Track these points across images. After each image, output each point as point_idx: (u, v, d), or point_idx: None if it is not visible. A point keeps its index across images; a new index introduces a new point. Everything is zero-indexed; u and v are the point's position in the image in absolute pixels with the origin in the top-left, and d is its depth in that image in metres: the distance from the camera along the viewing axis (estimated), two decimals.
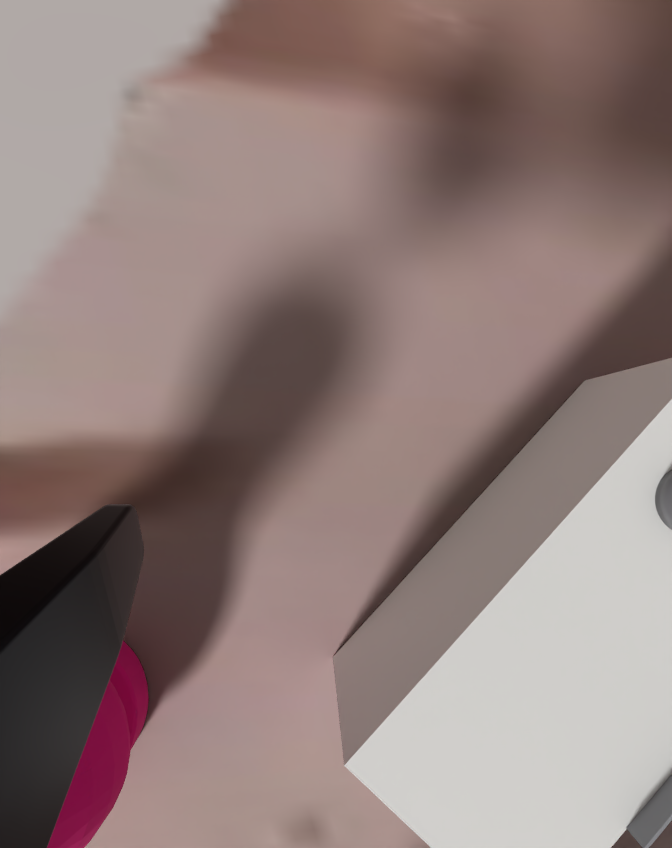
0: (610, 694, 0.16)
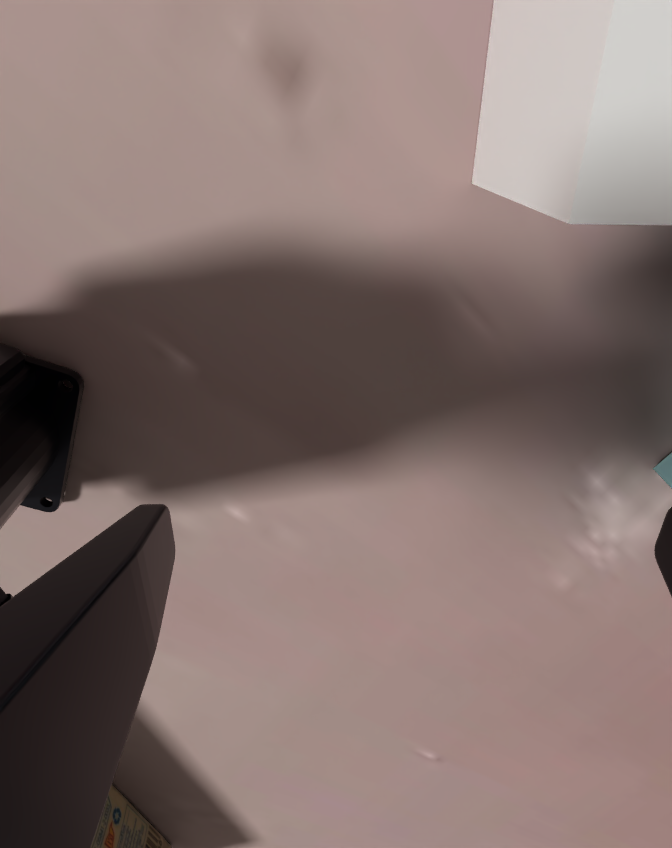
0: None
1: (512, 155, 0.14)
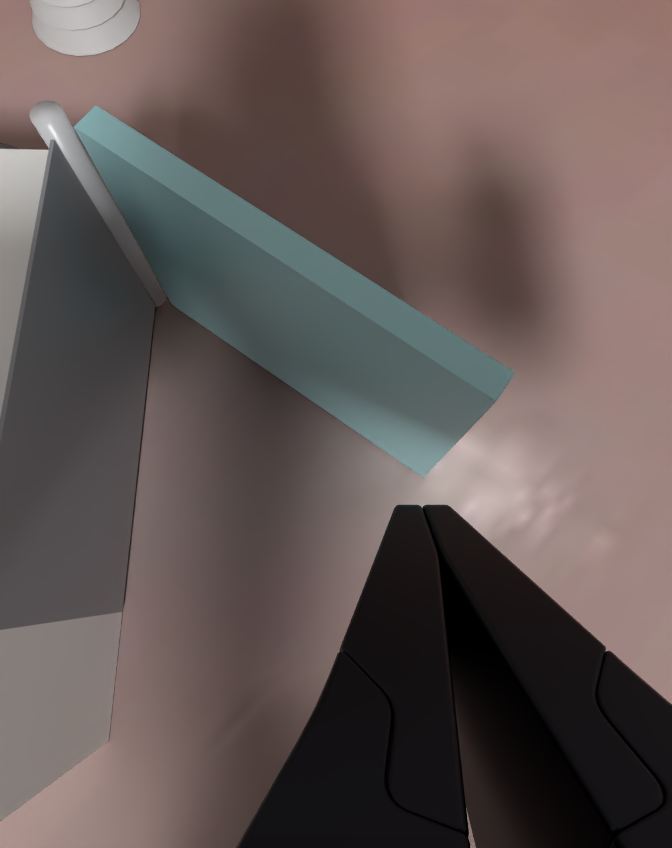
0: None
1: None
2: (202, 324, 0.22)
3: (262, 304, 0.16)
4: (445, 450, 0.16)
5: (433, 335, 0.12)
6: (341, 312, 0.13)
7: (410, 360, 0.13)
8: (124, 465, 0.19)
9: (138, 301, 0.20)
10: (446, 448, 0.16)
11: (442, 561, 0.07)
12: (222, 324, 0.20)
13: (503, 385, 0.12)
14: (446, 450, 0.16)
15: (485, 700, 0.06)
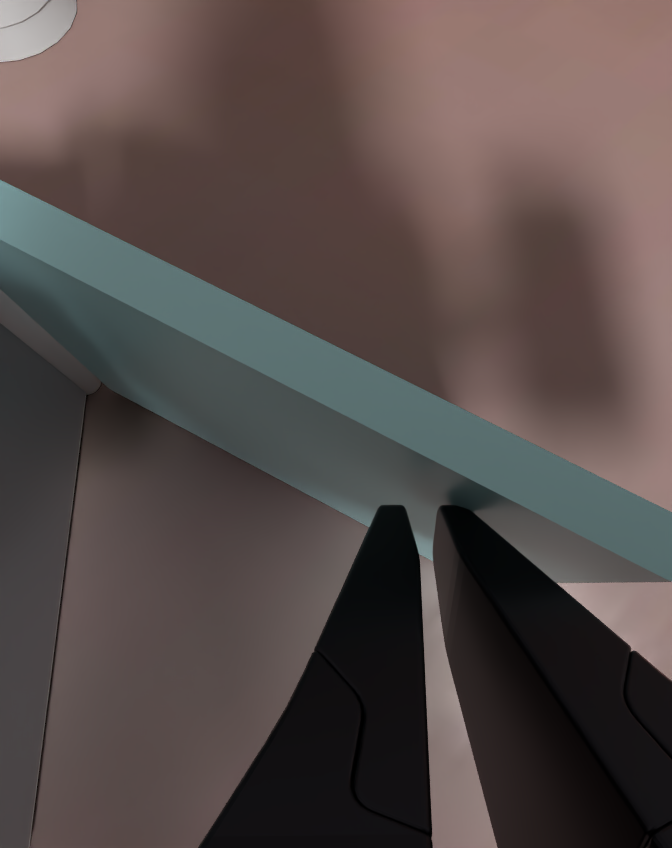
0: None
1: None
2: (153, 411, 0.16)
3: (232, 409, 0.10)
4: None
5: (539, 472, 0.07)
6: (368, 440, 0.08)
7: (496, 508, 0.08)
8: (29, 639, 0.13)
9: (53, 399, 0.15)
10: None
11: (461, 561, 0.07)
12: (179, 416, 0.15)
13: None
14: None
15: (508, 700, 0.06)
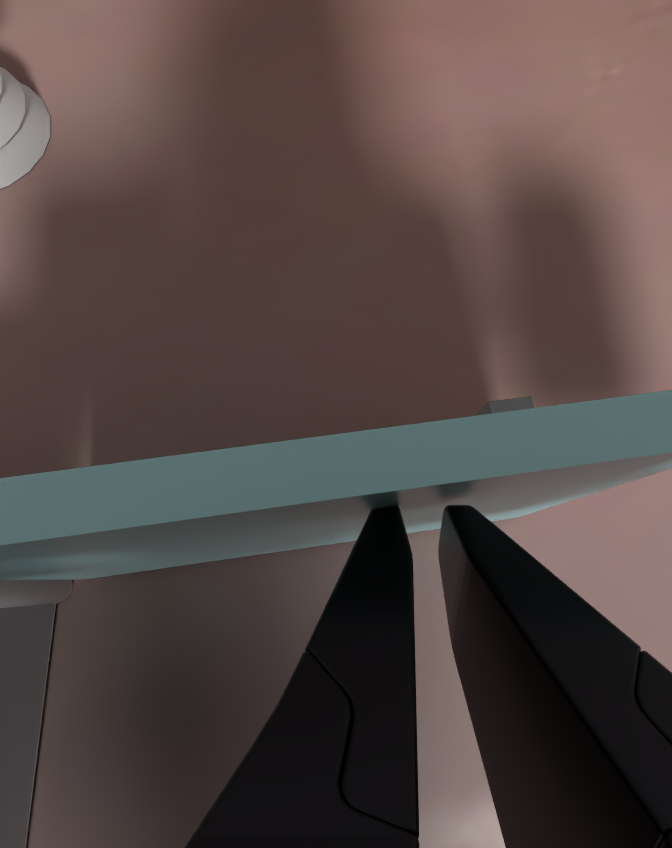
0: None
1: None
2: (144, 570, 0.15)
3: (259, 534, 0.10)
4: (581, 496, 0.12)
5: (601, 422, 0.07)
6: (437, 490, 0.07)
7: (576, 472, 0.08)
8: None
9: (14, 644, 0.13)
10: (584, 495, 0.11)
11: (469, 561, 0.07)
12: (180, 561, 0.13)
13: None
14: None
15: (517, 700, 0.06)
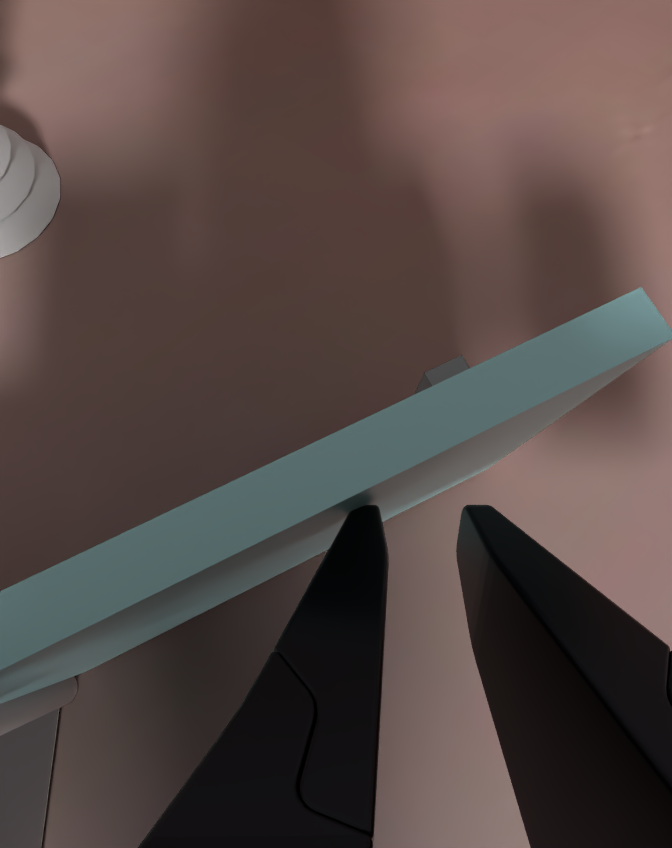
0: None
1: None
2: None
3: (244, 572, 0.09)
4: (537, 433, 0.12)
5: (532, 364, 0.07)
6: (400, 478, 0.07)
7: (524, 417, 0.08)
8: None
9: (14, 767, 0.12)
10: (540, 430, 0.12)
11: (492, 561, 0.07)
12: (177, 621, 0.13)
13: (653, 313, 0.07)
14: (539, 431, 0.12)
15: (545, 700, 0.06)
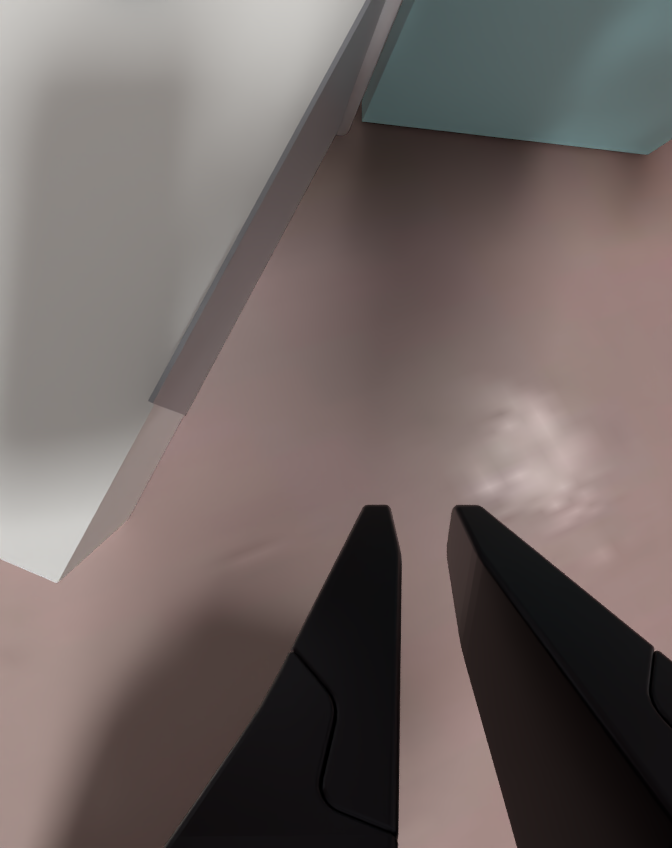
0: (84, 233, 0.11)
1: None
2: (406, 123, 0.20)
3: (598, 27, 0.16)
4: None
5: None
6: None
7: None
8: (252, 283, 0.18)
9: (336, 123, 0.18)
10: None
11: (479, 561, 0.07)
12: (459, 102, 0.19)
13: None
14: None
15: (530, 700, 0.06)
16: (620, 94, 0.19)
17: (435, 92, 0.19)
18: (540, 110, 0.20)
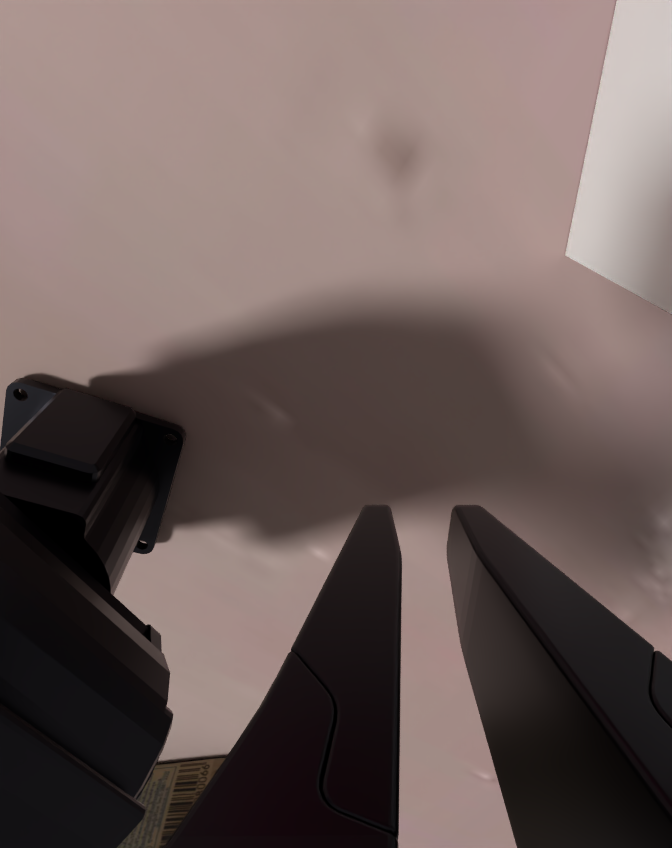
0: None
1: (625, 247, 0.15)
2: None
3: None
4: None
5: None
6: None
7: None
8: None
9: None
10: None
11: (479, 561, 0.07)
12: None
13: None
14: None
15: (530, 700, 0.06)
16: None
17: None
18: None
